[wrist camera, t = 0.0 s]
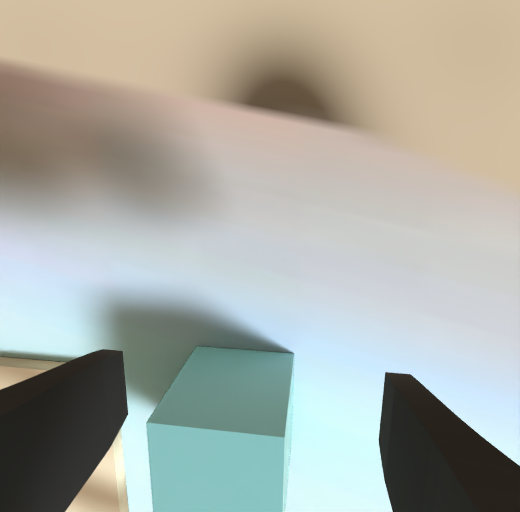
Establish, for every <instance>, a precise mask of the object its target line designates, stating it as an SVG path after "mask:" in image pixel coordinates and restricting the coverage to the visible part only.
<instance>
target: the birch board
mask: <svg viewBox="0 0 520 512" xmlns="http://www.w3.org/2000/svg"><path fill="white" fill-rule="evenodd" d="M64 363H66V362H54V361H43V360H31V359H20V358H9V357H0V390H1V389H3V388H6V387H8V386H11V385H14V384H16V383H19V382H21V381H24V380H26V379H29V378H31V377H33V376H36V375H38V374H40V373H43V372H45V371H48V370H50V369H52V368H55V367H57V366H59V365H62V364H64ZM65 512H129V510H128V500H127V489H126V479H125V469H124V458H123V448H122V437H121V429H120V431H119V433H118V435H117V436H116V438H115V440H114V442H113V444H112V446H111V447H110V449H109V450H108V452H107V453H106V455H105V456H104V458H103V459H102V460H101V462H100V463H99V465H98V466H97V468H96V469H95V471H94V472H93V473H92V475H91V476H90V478H89V479H88V480H87V482H86V483H85V485H84V486H83V487H82V489H81V490H80V492H79V493H78V494H77V496H76V497H75V499H74V500H73V501H72V503H71V504H70V506H69V507H68V509H67V510H66V511H65Z"/></svg>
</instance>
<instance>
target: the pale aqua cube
mask: <svg viewBox="0 0 520 512" xmlns="http://www.w3.org/2000/svg"><path fill="white" fill-rule="evenodd" d="M293 373H294V354H293V353H280V352H267V351H254V350H241V349H228V348H215V347H202V346H196V348H195V349H194V351H193V352H192V354H191V355H190V357H189V358H188V360H187V361H186V363H185V364H184V366H183V368H182V369H181V371H180V372H179V374H178V375H177V377H176V378H175V380H174V381H173V383H172V384H171V386H170V387H169V389H168V390H167V392H166V393H165V395H164V396H163V398H162V399H161V401H160V403H159V404H158V406H157V407H156V409H155V410H154V412H153V413H152V415H151V416H150V418H149V419H148V421H147V422H146V424H147V437H148V450H149V463H150V476H151V489H152V502H153V512H285V506H286V495H287V484H288V472H289V461H290V450H291V436H292V404H293Z"/></svg>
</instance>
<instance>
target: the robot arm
mask: <svg viewBox="0 0 520 512" xmlns="http://www.w3.org/2000/svg"><path fill="white" fill-rule="evenodd" d="M127 415H128V408H127V397H126V386H125V374H124V363H123V352H122V351H116V350H104V349H102V350H99V351H95V352H92V353H89V354H87V355H84V356H81V357H79V358H76V359H74V360H71V361H69V362H67V363H64V364H62V365H59V366H57V367H55V368H52V369H50V370H48V371H45V372H43V373H40V374H38V375H36V376H33V377H31V378H29V379H26V380H24V381H21V382H19V383H16V384H14V385H11V386H8V387H6V388H3V389H1V390H0V512H65V511H66V510H67V509H68V507H69V506H70V504H71V503H72V501H73V500H74V499H75V497H76V496H77V494H78V493H79V492H80V490H81V489H82V487H83V486H84V485H85V483H86V482H87V480H88V479H89V478H90V476H91V475H92V473H93V472H94V471H95V469H96V468H97V466H98V465H99V463H100V462H101V460H102V459H103V458H104V456H105V455H106V453H107V452H108V450H109V449H110V447H111V446H112V444H113V442H114V440H115V438H116V436H117V435H118V433H119V431H120V429H121V427H122V425H123V423H124V421H125V419H126V417H127ZM379 446H380V453H381V460H382V467H383V473H384V479H385V484H386V487H387V491H388V495H389V499H390V502H391V506H392V510H393V512H520V466H519V465H518V464H516V463H515V462H514V461H512V460H511V459H510V458H508V457H507V456H506V455H504V454H503V453H502V452H501V451H499V450H498V449H497V448H495V447H494V446H493V445H492V444H490V443H489V442H488V441H486V440H485V439H484V438H483V437H481V436H480V435H479V434H478V433H477V432H475V431H474V430H473V429H472V428H471V427H469V426H468V425H467V424H466V423H465V422H463V421H462V420H461V419H460V418H459V417H458V416H457V415H455V414H454V413H453V412H452V411H451V410H450V409H449V408H447V407H446V406H445V405H444V404H443V403H442V402H441V401H440V400H439V399H437V398H436V397H435V396H434V395H433V394H432V393H431V392H430V391H429V390H428V389H426V388H425V387H424V386H423V385H422V384H421V383H420V382H419V381H418V380H416V379H415V378H414V377H413V376H412V375H410V374H399V373H387V372H385V382H384V392H383V402H382V412H381V423H380V433H379Z"/></svg>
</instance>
